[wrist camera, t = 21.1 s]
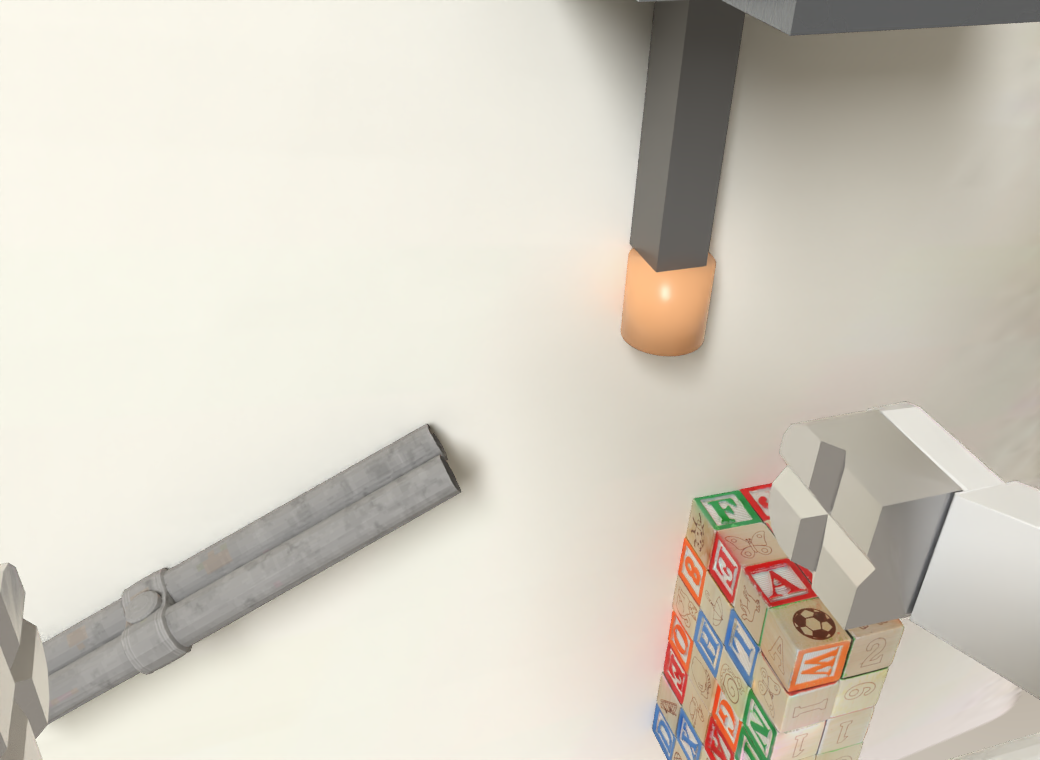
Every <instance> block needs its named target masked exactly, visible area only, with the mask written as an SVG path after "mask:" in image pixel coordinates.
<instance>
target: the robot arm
mask: <svg viewBox="0 0 1040 760" xmlns="http://www.w3.org/2000/svg"><path fill="white" fill-rule="evenodd" d="M779 453H780V455H781V457H782V458H783V460H784V461H785V463H786V464H787V466H786V468H785V469H784V470H783V471H782V472H781V473H780V475H779V476H778V477H777V478H776V479H775V480H774V482H773V483H772V487H771V492H770V498H769V503H768V509H769V515H770V521H771V527H772V530H773V533H774V535H775V537H776V539H777V542H778V544H779V546H780V547H781V548H782V550H783V551H784V552H785V554H786V555H787V557H788V558H789V559H790V561H792V562H794V563H796V564H798V565H800V566H802V567H804V568H806V569H808V570H810V571H812V572H813V576H812V589H813V591H814V592H815V593H816V595H817V596H818V597H819V598H820V600H821V601H822V602H823V604H824V605H825V606H826V608H827V609H828V610H829V611H830V613H831V614H832V615H833V617H834V618H835V619H836V620H837V622H838V623H839V624H840V626H841V627H842V628H843V629H844V630H848V629H852V628H857V627H862V626H866V625H871V624H876V623H880V622H885V621H890V620H894V619H899V618H904V617H908V616H911V617H910V620H911V621H912V622H914V623H915V624H917V625H919V626H920V627H922V628H924V629H925V630H927V631H929V632H930V633H932V634H933V635H935V636H937V637H938V638H940V639H942V640H943V641H945V642H946V643H948V644H950V645H951V646H953V647H955V648H956V649H958V650H959V651H961V652H963V653H964V654H966V655H968V656H969V657H971V658H973V659H974V660H976V661H977V662H979V663H981V664H982V665H984V666H986V667H987V668H989V669H990V670H992V671H994V672H995V673H997V674H999V675H1000V676H1002V677H1004V678H1005V679H1007V680H1008V681H1010V682H1012V683H1013V684H1015V685H1017V686H1018V687H1020V688H1021V689H1023V690H1025V691H1026V692H1028V693H1030V694H1031V695H1033V696H1035V697H1036V698H1038V699H1039V700H1040V490H1039V489H1037V488H1034V487H1032V486H1029V485H1026V484H1024V483H1021V482H1018V481H1012V482H1007V483H1005V482H1004V481H1002V480H1001V479H1000V478H999V477H998V476H997V475H996V474H995V473H993V472H992V471H991V470H990V469H989V468H988V467H987V466H986V465H984V464H983V463H982V462H981V461H980V460H979V459H978V458H977V457H975V456H974V455H973V454H972V453H971V452H970V451H969V450H968V449H966V448H965V447H964V446H963V445H962V444H961V443H960V442H959V441H957V440H956V439H955V438H954V437H953V436H952V435H951V434H950V433H948V432H947V431H946V430H945V429H944V428H943V427H942V426H941V425H939V424H938V423H937V422H936V421H935V420H934V419H933V418H932V417H930V416H929V415H928V414H927V413H926V412H925V411H924V410H923V409H922V408H920V407H919V406H917V405H914V404H912V403H909V402H906V401H905V402H900V403H895V404H890V405H885V406H880V407H875V408H870V409H867V410H866V411H858V412H853V413H848V414H842V415H837V416H831V417H826V418H821V419H815V420H810V421H804V422H799V423H794V424H791V425H790V426H789V428H788V429H787V431H786V432H785V433H784V435H783V438H782V443H781V447H780V451H779ZM24 601H25V590H24V588H23V585H22V583H21V580H20V577H19V575H18V572H17V570H16V567H15V566H13V565H11V564H10V563H4V564H0V760H43V759H42V756H41V754H40V751H39V748H38V745H37V742H36V740H35V739H36V738H37V737H38V736H39V734H40V733H41V732H42V731H43V729H44V728H45V727H46V726H47V725H48V713H49V684H48V669H47V663H46V658H45V653H44V648H43V644H42V641H41V638H40V635H39V632H38V629H37V626H35V625H34V624H32V623H30V622H28V621H26V620H25V619H23V610H24ZM948 760H1040V732H1039V733H1035V734H1032V735H1029V736H1025V737H1022V738H1019V739H1015V740H1012V741H1008V742H1005V743H1002V744H998V745H995V746H992V747H988V748H985V749H982V750H978V751H975V752H971V753H968V754H965V755H961V756H958V757H955V758H952V759H948Z"/></svg>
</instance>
